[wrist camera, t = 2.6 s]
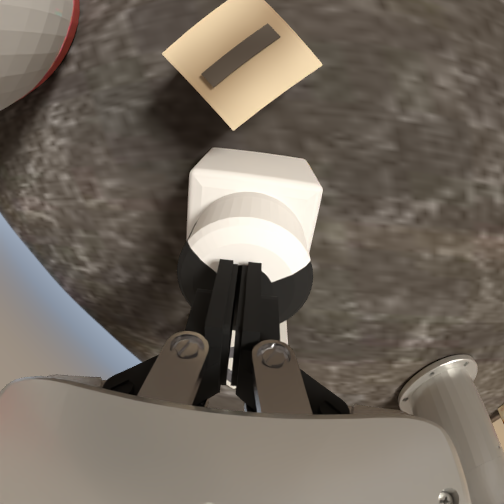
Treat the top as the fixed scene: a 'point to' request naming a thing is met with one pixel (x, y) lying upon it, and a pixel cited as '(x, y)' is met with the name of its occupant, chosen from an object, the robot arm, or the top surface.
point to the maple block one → (241, 58)
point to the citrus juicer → (33, 43)
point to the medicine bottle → (251, 224)
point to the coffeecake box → (501, 412)
